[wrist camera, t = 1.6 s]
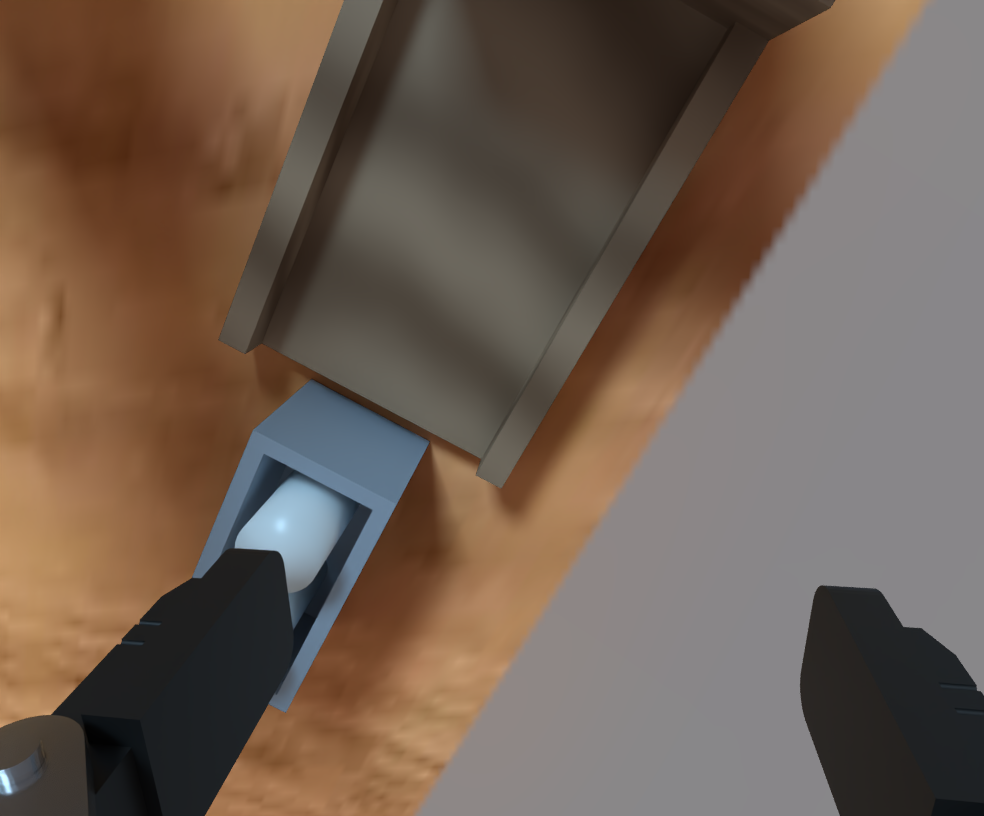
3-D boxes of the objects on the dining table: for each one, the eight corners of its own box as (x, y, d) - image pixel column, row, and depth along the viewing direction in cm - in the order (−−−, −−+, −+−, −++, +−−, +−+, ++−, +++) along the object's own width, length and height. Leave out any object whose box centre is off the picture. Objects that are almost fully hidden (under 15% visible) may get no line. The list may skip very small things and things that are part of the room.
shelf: (508, 460, 32) (478, 576, 24) (249, 323, 32) (122, 392, 23) (774, 10, 25) (868, -55, 16) (443, -183, 24) (363, -354, 16)
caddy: (331, 626, 37) (268, 745, 30) (226, 572, 37) (137, 680, 30) (430, 441, 33) (384, 528, 25) (311, 379, 32) (230, 449, 25)
